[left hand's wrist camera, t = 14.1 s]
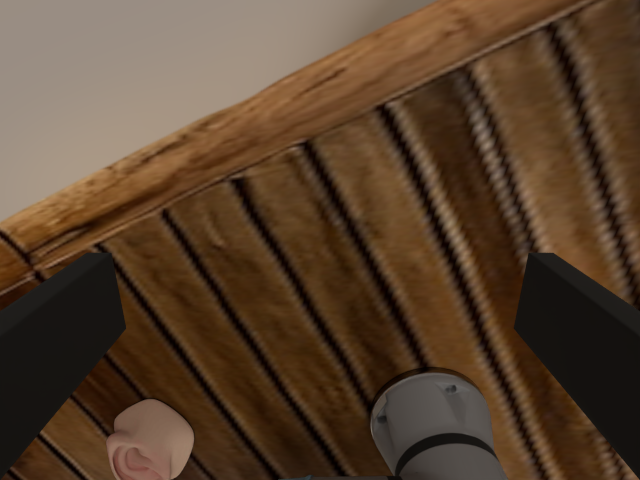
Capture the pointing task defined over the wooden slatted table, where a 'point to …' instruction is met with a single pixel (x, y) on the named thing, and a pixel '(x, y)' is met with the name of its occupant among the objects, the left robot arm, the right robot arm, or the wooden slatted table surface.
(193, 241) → the wooden slatted table surface
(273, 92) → the wooden slatted table surface
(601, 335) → the left robot arm
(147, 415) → the anatomical model
